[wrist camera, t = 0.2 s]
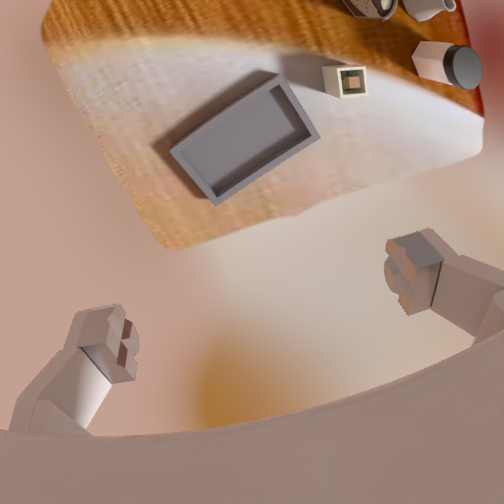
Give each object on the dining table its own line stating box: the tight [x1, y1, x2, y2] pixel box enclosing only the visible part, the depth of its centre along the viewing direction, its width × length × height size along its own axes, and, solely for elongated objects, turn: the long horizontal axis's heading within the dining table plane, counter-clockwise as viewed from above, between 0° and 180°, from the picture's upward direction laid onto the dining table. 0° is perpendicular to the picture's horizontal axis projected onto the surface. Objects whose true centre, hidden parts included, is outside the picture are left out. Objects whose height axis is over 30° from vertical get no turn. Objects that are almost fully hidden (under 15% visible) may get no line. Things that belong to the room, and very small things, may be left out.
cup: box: [321, 64, 369, 98], centre depth 45 cm, size 5×5×8 cm
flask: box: [402, 0, 456, 22], centre depth 36 cm, size 7×7×10 cm
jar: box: [412, 41, 482, 90], centre depth 42 cm, size 9×8×12 cm
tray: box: [169, 74, 321, 207], centre depth 51 cm, size 13×22×3 cm, turn 123°
